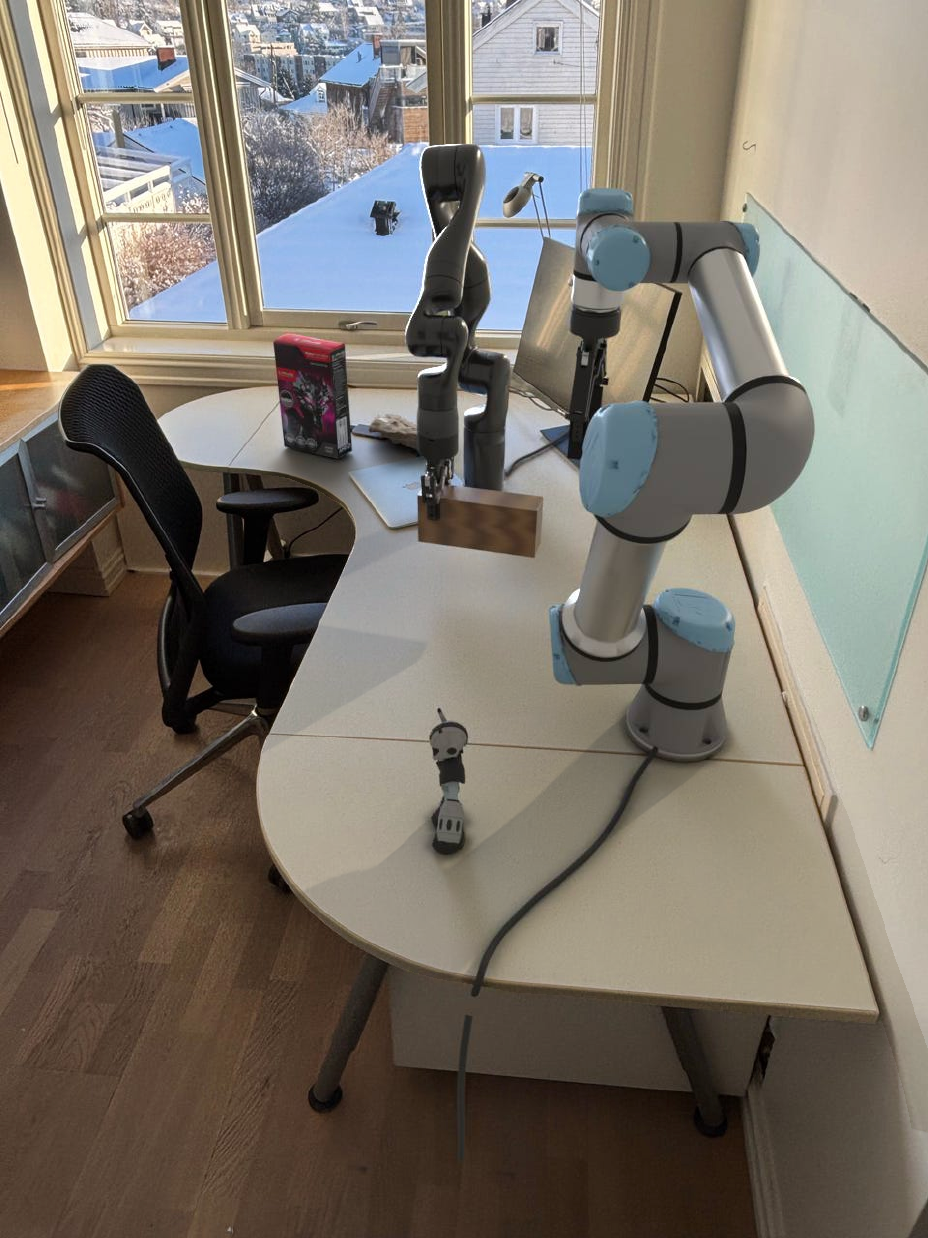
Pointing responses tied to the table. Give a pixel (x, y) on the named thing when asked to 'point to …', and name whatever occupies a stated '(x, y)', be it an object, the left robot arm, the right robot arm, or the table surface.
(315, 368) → the graphics card box
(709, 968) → the table surface
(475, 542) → the box
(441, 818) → the robot
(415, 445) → the stone
